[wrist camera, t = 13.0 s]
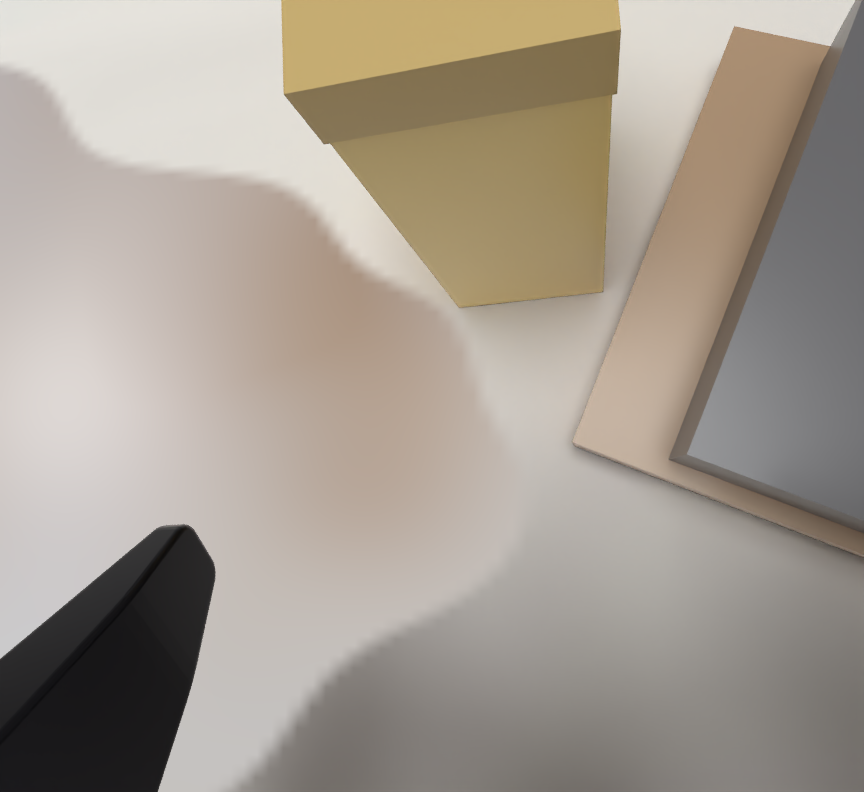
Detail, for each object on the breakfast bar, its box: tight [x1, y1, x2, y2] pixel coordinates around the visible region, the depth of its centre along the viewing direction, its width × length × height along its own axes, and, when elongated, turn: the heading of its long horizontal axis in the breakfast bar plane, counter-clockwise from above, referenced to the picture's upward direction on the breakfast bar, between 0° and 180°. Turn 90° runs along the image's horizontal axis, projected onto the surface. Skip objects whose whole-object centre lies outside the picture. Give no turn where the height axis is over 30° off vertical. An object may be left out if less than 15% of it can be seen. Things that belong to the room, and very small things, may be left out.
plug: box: [281, 0, 621, 308], centre depth 13 cm, size 4×4×10 cm
